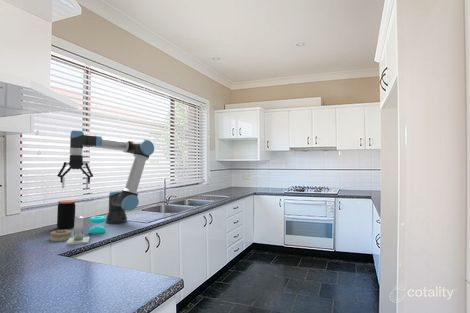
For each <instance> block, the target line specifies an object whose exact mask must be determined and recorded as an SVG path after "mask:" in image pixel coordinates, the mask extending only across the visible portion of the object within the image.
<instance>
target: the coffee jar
mask: <svg viewBox="0 0 470 313" xmlns="http://www.w3.org/2000/svg"><path fill="white" fill-rule="evenodd" d="M57 203H58V204H57V215H56V227H57V229H58V230H69V229H74V223H75V217H76V206H77V205H76V200H75V199H65V200H64V199H63V200H58V201H57Z"/></svg>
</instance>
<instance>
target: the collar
mask: <svg viewBox="0 0 470 313" xmlns="http://www.w3.org/2000/svg"><path fill="white" fill-rule="evenodd" d="M49 237H50V241H53V242H62V241H63V240H64V241H68V239H69V238H72V230H71V229H70V230H69V229H58V230H53V231H51V232H50V236H49Z"/></svg>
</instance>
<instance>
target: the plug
mask: <svg viewBox="0 0 470 313" xmlns="http://www.w3.org/2000/svg"><path fill="white" fill-rule="evenodd" d="M84 227H85V216H81V215H79V216H75V223H74V227H73V238H74V241H80V240H83V237H84V230H85V229H84Z"/></svg>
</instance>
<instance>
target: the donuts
mask: <svg viewBox="0 0 470 313" xmlns="http://www.w3.org/2000/svg"><path fill="white" fill-rule="evenodd" d="M106 217H107V216H104V215H97V216H91V217H90V218H89V223H90V224H94V225H95V224H97V226H93V227H90V228H89V229H88V233H90V234H92V235H99V234H103V233H105V232H106V230H107V229H106V227H105V226H103V225H102V226H101V225H98V224H103V223H106Z"/></svg>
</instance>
